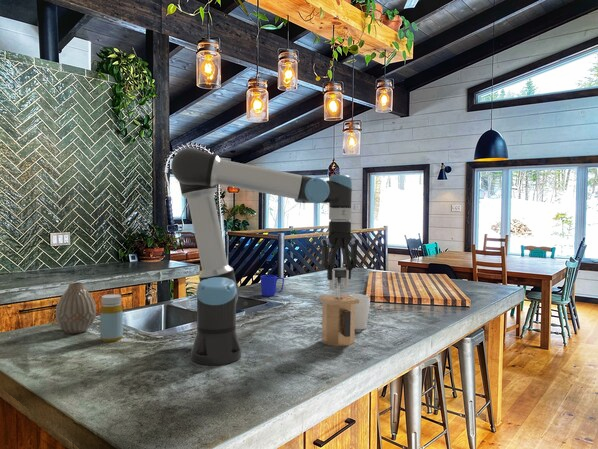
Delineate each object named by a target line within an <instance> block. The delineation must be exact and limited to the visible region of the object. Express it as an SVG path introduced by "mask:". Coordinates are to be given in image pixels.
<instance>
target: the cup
mask: <svg viewBox="0 0 598 449" xmlns="http://www.w3.org/2000/svg"><path fill="white" fill-rule="evenodd" d="M348 295H349V296H351V297H353V298H355V299H357V300H359V303H357V304H355V330H357V331H358V330H359V331H360V330H365V329H367V326H368V325H367V324H368V319H369V313H370V306H371V302H370V295H367V294H361V293H351V294H348Z"/></svg>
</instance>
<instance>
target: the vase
mask: <svg viewBox="0 0 598 449" xmlns="http://www.w3.org/2000/svg"><path fill="white" fill-rule="evenodd" d="M83 283H84V282H79V281H76V282H70V283H69V284H68V287H67V289H66V290H65V291H64V293H63V294H62V295H61V297H60V298H59V299H58V301H57V305H56V308H55V319H56V323H57V325H58V326H59V328H60V329H61V330H62V331H64V332H65V333H66V334H81V333H84V332H87V330H88V329H89V328H91V326H92V325H93V324H94V322H95V319H96V316H97V306H96V302H95V299H94V298H93V296H92V294H90V292H89V291H88V290H87V289H86V288H85V287H84V284H83Z"/></svg>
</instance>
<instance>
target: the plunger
mask: <svg viewBox="0 0 598 449" xmlns="http://www.w3.org/2000/svg"><path fill="white" fill-rule="evenodd" d="M344 269H345V268H333V270H334V271H335V279H336V280H337V281H336V285H337V286H336V288H337V290H336V295H337V299H341V295H342V294H341V293H342V292H341V291H342V289H341V288H342V285H341V284H342V282H341V281H342V279H343V278H345V277H346V270H344Z"/></svg>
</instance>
